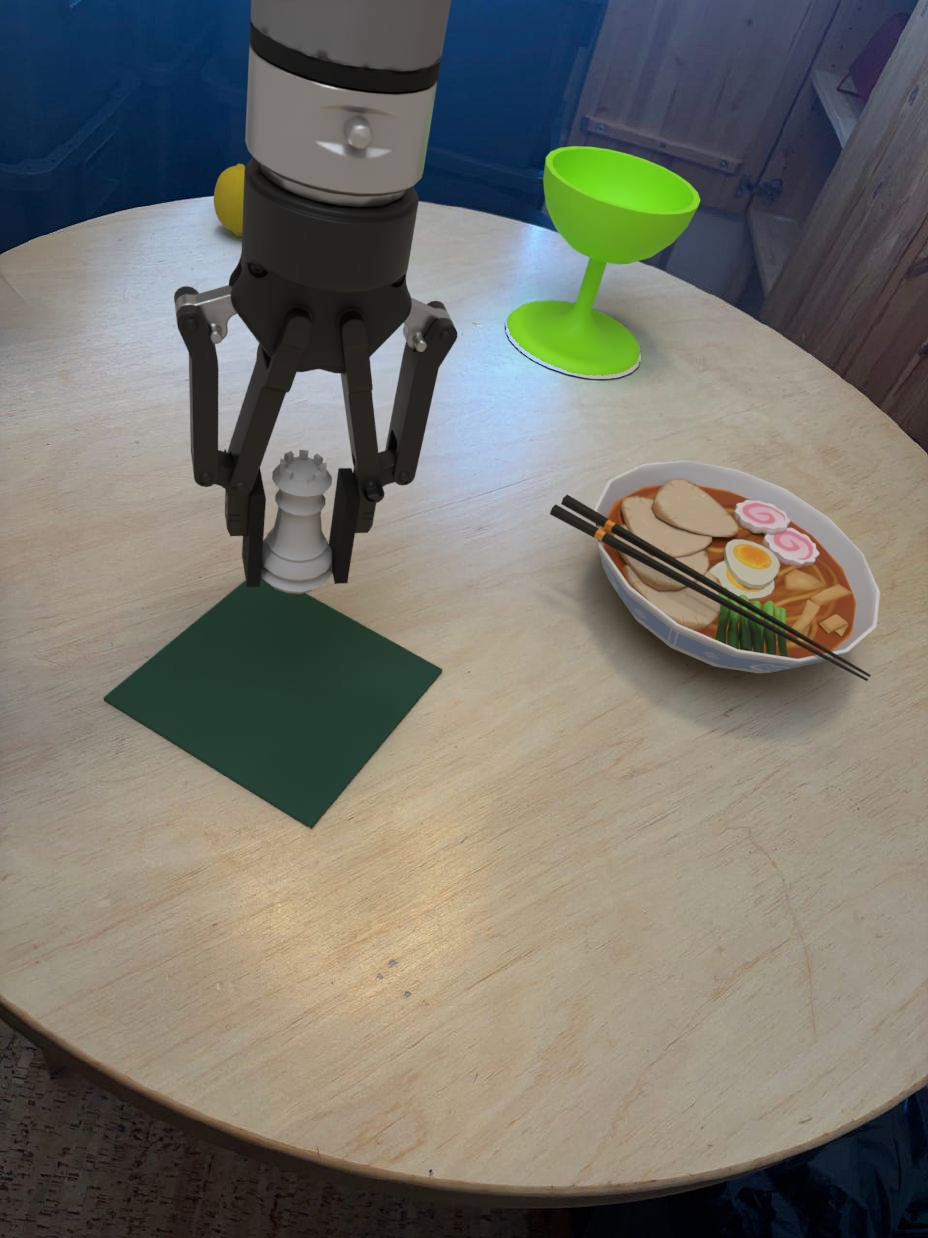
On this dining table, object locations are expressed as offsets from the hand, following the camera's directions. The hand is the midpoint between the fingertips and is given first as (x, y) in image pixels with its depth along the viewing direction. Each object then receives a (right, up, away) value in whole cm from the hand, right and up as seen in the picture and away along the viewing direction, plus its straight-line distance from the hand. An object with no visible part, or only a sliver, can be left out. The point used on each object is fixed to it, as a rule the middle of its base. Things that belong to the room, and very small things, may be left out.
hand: (294, 568), depth 57 cm
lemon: (-16, +41, +52) cm, 68 cm away
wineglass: (+22, +28, +50) cm, 62 cm away
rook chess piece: (0, 0, 0) cm, 0 cm away
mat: (-2, -7, +7) cm, 11 cm away
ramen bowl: (+30, -3, +21) cm, 36 cm away
